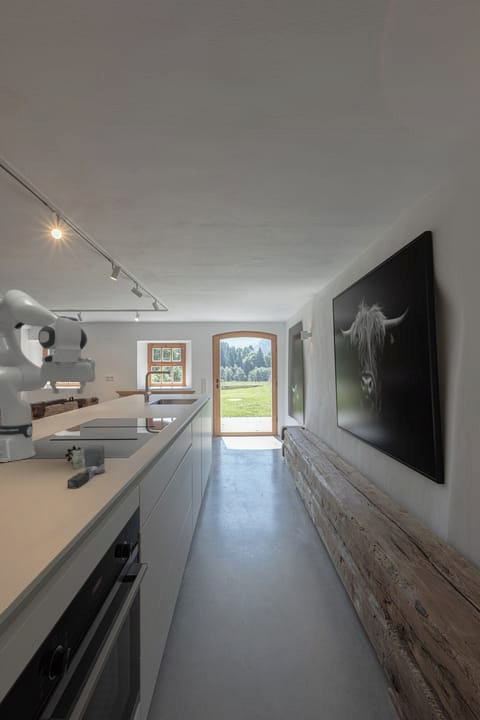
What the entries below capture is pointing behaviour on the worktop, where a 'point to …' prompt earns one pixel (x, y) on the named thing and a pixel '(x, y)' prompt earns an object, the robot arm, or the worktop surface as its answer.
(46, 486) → the worktop surface
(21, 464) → the worktop surface
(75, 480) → the ratchet
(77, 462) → the valve
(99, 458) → the plain grey cube
